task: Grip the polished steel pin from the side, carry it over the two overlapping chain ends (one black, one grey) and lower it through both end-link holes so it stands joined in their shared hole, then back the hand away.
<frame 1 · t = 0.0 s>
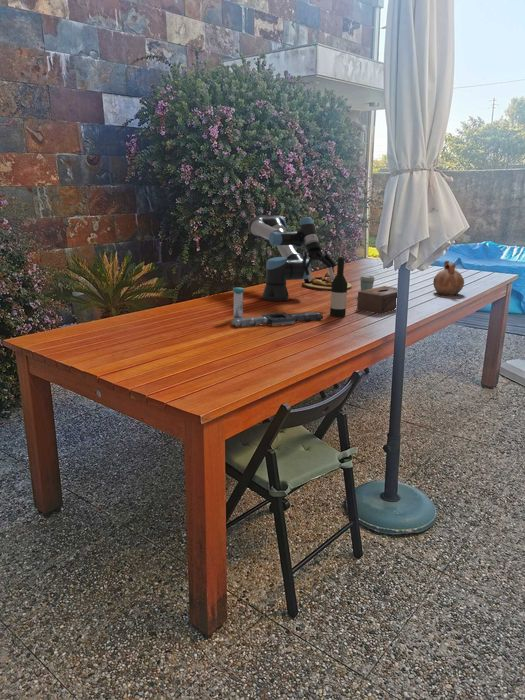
hand: (322, 279, 298), 15 cm above the table, tool tilted 35°, fingers open, 13 cm apart
wine bottle: (337, 315, 287), on the table
chain ends: (278, 322, 271), on the table
tissue box cover: (381, 309, 306), on the table
coffee cup: (365, 296, 336), on the table
wooden plate with food: (326, 287, 365), on the table
steel pin: (238, 319, 275), on the table
jug: (447, 294, 349), on the table
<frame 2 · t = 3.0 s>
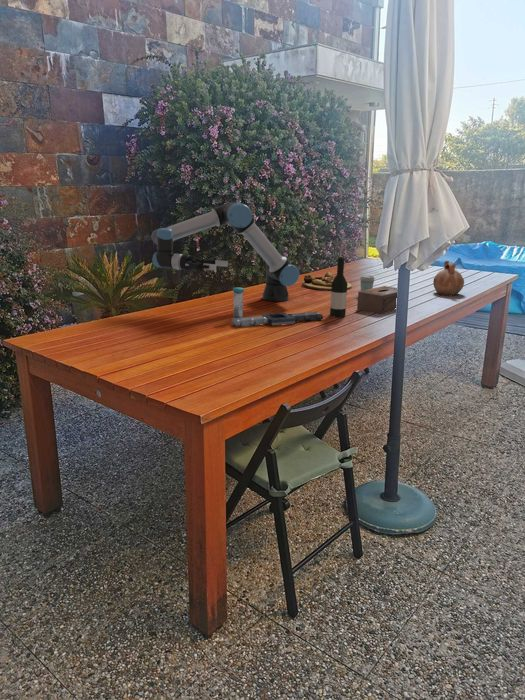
hand: (222, 265, 270), 25 cm above the table, tool horizontal, fingers open, 13 cm apart
nothing on the table moved.
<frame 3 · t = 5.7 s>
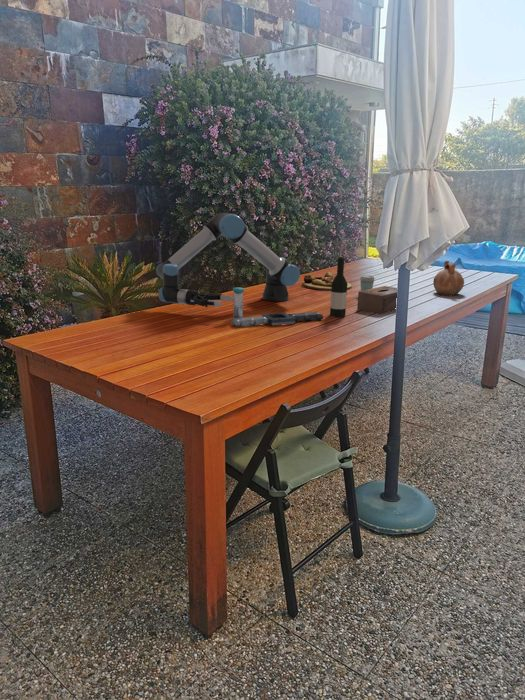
hand: (226, 301, 274), 8 cm above the table, tool horizontal, fingers open, 13 cm apart
nothing on the table moved.
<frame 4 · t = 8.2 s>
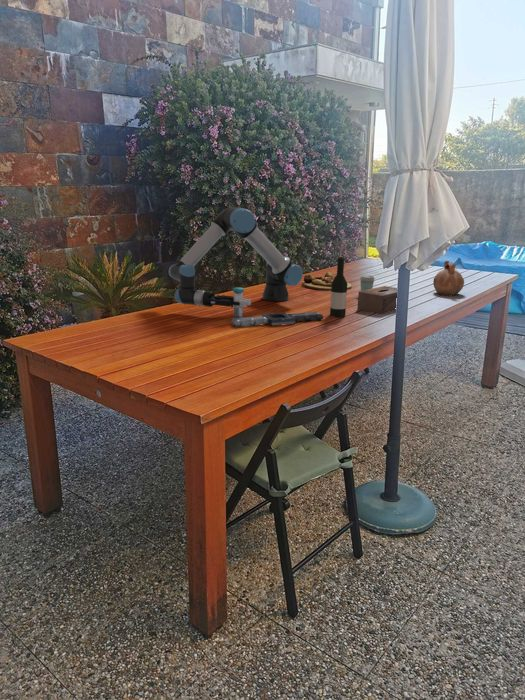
hand: (248, 303, 270), 9 cm above the table, tool horizontal, fingers closed on steel pin, 4 cm apart
steel pin: (238, 319, 275), on the table, touching gripper
everything else where it was.
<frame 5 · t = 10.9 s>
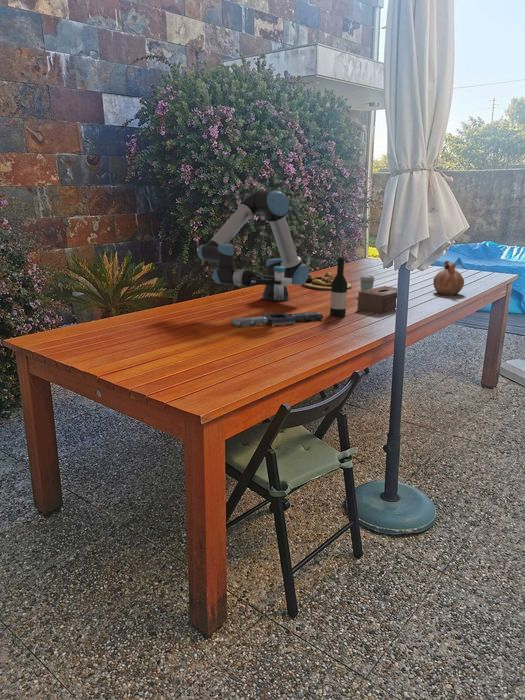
hand: (289, 282, 263), 20 cm above the table, tool horizontal, fingers closed on steel pin, 4 cm apart
steel pin: (278, 299, 267), point 11 cm above the table, touching gripper
everything else where it was.
when the fingers open (9 cm above the table, at t = 13.6 s): steel pin stays where it is, resting in chain ends.
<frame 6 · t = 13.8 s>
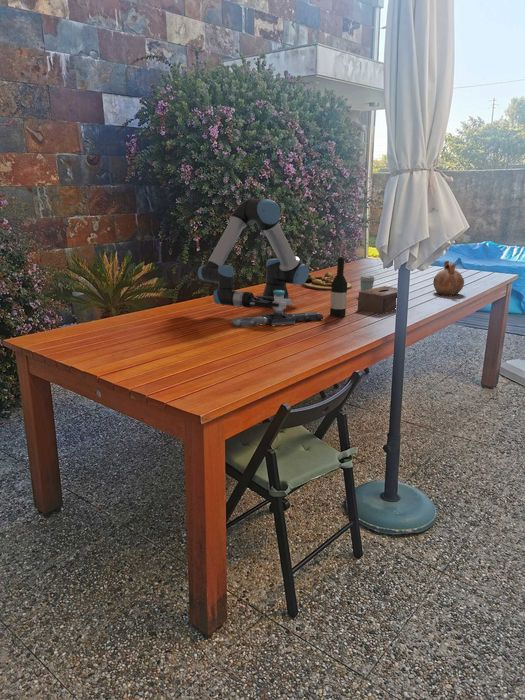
hand: (288, 303, 266), 9 cm above the table, tool horizontal, fingers open, 7 cm apart
steel pin: (278, 322, 271), resting in chain ends
everything else where it was.
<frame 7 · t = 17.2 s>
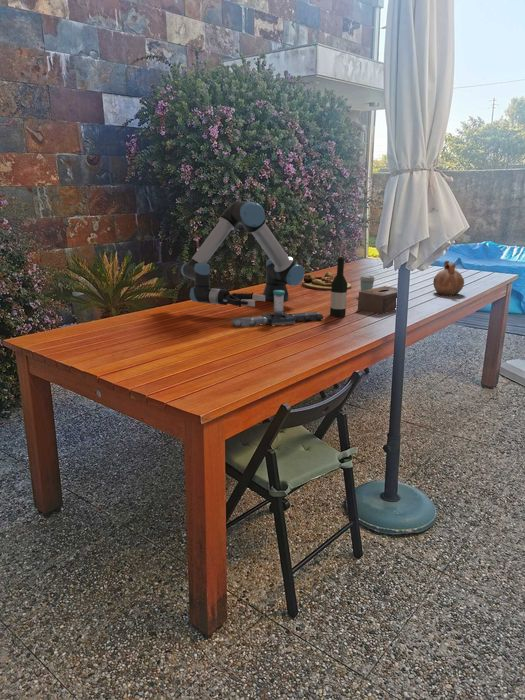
hand: (259, 300, 271), 10 cm above the table, tool horizontal, fingers open, 13 cm apart
nothing on the table moved.
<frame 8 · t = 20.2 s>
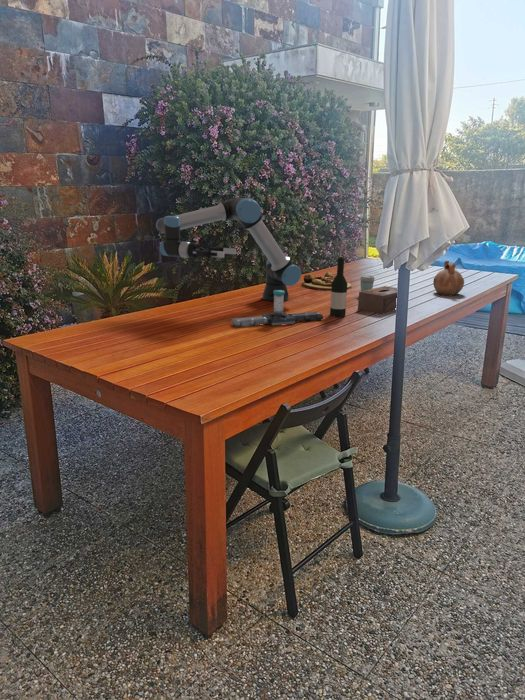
hand: (230, 253, 265), 32 cm above the table, tool horizontal, fingers open, 13 cm apart
nothing on the table moved.
at the end: steel pin 0.0 cm off-centre on the chain ends, point 0.0 cm above the chain ends's base; steel pin tilted 0°; the gripper is holding nothing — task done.
